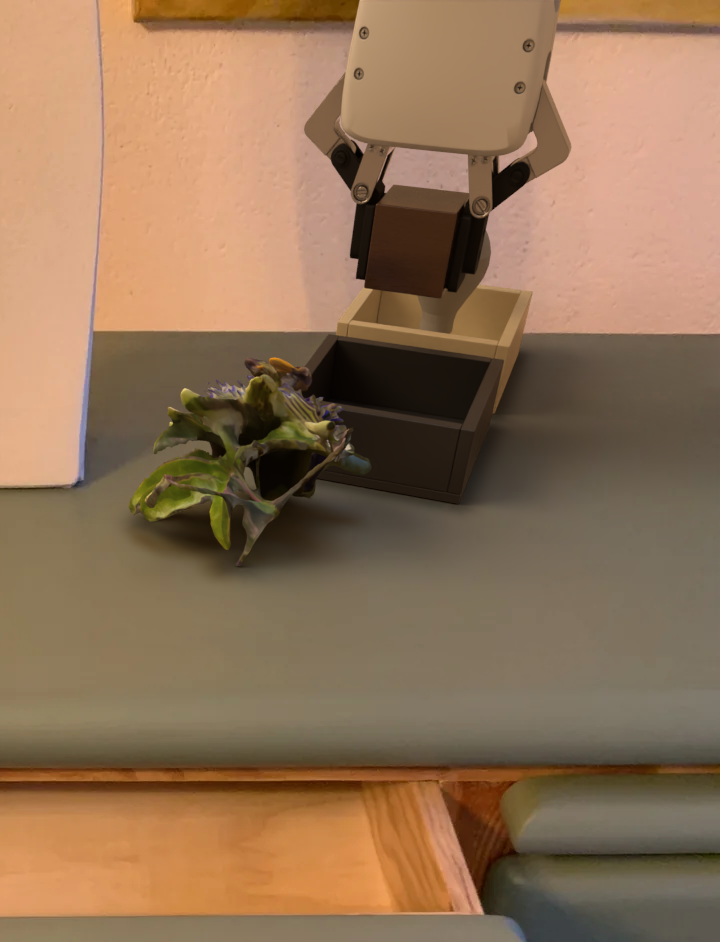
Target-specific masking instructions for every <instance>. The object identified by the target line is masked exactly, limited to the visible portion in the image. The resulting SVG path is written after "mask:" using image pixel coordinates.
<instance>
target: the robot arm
mask: <svg viewBox="0 0 720 942" xmlns="http://www.w3.org/2000/svg"><path fill="white" fill-rule="evenodd" d="M561 1H562V0H359V2H358V5H357V6H358V7H357V11H356V15H355V21H354V24H353V25H354V26H353V31H352V36H351V42H350V46H349V50H348V51H349V52H348V57H347V63H346V69H345V72H344V73H343V74H342V76H341V77H340V78H339V80H338V81H337V82H336V83H335V84H334V86H333V87H332V89H330V91H329V92H328V94H327V95H326V96H325V98H324V99H322V101H321V102H320V104H319V105H318V106H317V108H316V109H315V111H313V113H312V114H311V115H310V117H309V118H308V119H307V121H306V122H305V124H304V129H303V130H304V134H305V136H306V137H307V139H309V141H310V142H311V143H312V144H313V145H314V146H315V147H316V148H317V149H318V150H319V151H320V152H321V153H322V154H323V155H324V156H326V157H327V158H328V159H329V160H330V162H331V165H332V167H333V168H334V169H335V171H336V172H337V173H338V175H339V177H340V178H341V180H342V181H343V183H344V184H345V185H346V187H347V188H348V190H349V191H350V198H351V200H352V201H353V202H354V203H355V204H356V205H355V213H354V220H353V225H352V226H353V227H352V234H351V241H350V248H349V258H350V259H354V260H357V266H356V273H355V279H356V280H360V281H365V276H366V269H367V263H368V256H369V249H370V242H371V235H372V228H373V221H374V214H375V208H376V204H377V203H378V202H379V201H380V199H381V198H382V197H383V196H384V195H385V194H386V193H387V192H385V191H386V185H385V183H384V180H385V177H386V175H387V172H388V170H389V167H390V164H391V161H392V159H393V157H394V154H395V151H396V148H399V149H400V148H401V149H409V150H416V151H417V150H419V151H429V152H438V153H448V154H457V155H467V171H468V172H467V173H468V175H467V176H468V193H469V199H468V200H467V202H466V204H465V209H464V211H463V213H462V214H461V216H460V217H459V219H458V223H457V228H456V233H455V238H454V244H453V249H452V254H451V259H450V265H449V270H448V275H447V280H446V286H445V289H448V290H447V291H448V292H455V293H457V291H458V289H459V288H460V286H461V284H462V282H463V280H464V278H465V275H466V274H474V275H475V273H476V271H477V268H478V265H479V261H480V256H481V251H482V246H483V241H484V236H485V232H486V231H487V227H488V222H489V217H490V213H491V212H492V211H493V210H495V209H496V208H498V206H500V205H502V204H503V203H504V202H505V201H506V200H508V199H509V198H510V197H511V196H512V195H514V194H515V193H516V192H518V191H519V190H521V189H522V188H523V187H524V186H525V185H526V184H529V183H530V182H532V181H533V180H535V179H537V178H539V177H541V176H542V175H545V174H546V173H548V172H549V171H551V170H553V169H555V168H556V167H558V166H559V165H561V164H563V163H564V162H566V161H567V159H568V157H569V156H570V154H571V151H572V143H571V140H570V137H569V135H568V132H567V130H566V128H565V125H564V123H563V120H562V118H561V115H560V113H559V111H558V108H557V106H556V103H555V101H554V98H553V95H552V93H551V90H550V88H549V86H548V83H547V81H548V77H549V71H550V67H551V62H552V55H553V50H554V45H555V38H556V33H557V27H558V21H559V20H558V19H559V15H560V8H561V3H562V2H561ZM340 122H341V124H340ZM530 133H533V134H534V136H535V138H536V143H537V144H536V147H535V148H533V149H532V150H530V151H528V152H527V153H526V154H524V155H522V156H521V157H517V158H516V159H514V160H513V161H511V163H509V164H508V165H506V167H504V168H502V170H500V157H501V156H505V155H509V154H513V153H514V152H516V151H519V149H521V148H522V147H523V145H524V144H525V142H526V140H527V138H528V135H529V134H530ZM348 136H349V137H350V138H351V139H350V138H349V137H348ZM356 141H358V142H361V143H364V144H367V145H366V146H365V149H364V152H363V151H362V149H361V148H360V146H359V145H358V143H357V142H356Z"/></svg>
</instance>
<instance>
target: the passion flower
mask: <svg viewBox="0 0 720 942" xmlns="http://www.w3.org/2000/svg"><path fill="white" fill-rule="evenodd" d="M243 364H244V366H245V368H246V369H247V370H248V371H249V373H250V374H251V375H246V378H247V380H248V382H249V383H248V386H247V387H246V386H245V385H244V383H242V381H240V380H239V379H238V380H237V381H236V382H237V383H238V385H239V386H240V387H238V386H237V385H235V384H233V385H232V386H231V385H230V384H229V382H227V381H224V384H223V383H221V382H220V381H219V379H215V382H216V384H217V385H218V386H219V388H220V389H219V388H218V387H216V386H214V387H213V386H210V387H207V388H206V389H207V390H203V392H204V393H206V394H207V395H208V396H207V395H206V396H205V395H202V394H198V393H196V392H194V391H192V390H190V389H189V388H185V387H184V388H183V389H182V390H181V392H180V396H179V397H180V401H181V404H182V406H183V407H184V408H185V410H186V411H188V412H183V411H180V410H178V409H175V408H173V407H172V406H167V413H166V414H167V416H168V417H169V418H170V419H171V421H170V422H169V424H168V428H167V429H165V430H163V431H162V432H161V434H159V436H158V438H157V439H156V440H155V442H154V444H153V449H152V454H153V455H157V454H158V452H162V451H164V450H166V448H171V449H172V448H173V447H175V446H176V447H177V446H179V445H187V443H188V442H196V441H197V442H199V441H200V442H207V443H209V445H210V448H211V454H210V452H209V451H206V450H204V449H200V448H197V447H195V448H194V450H191V451H189V452H186V453H184V454H183V455H182V456H178V455H177V456H176V457H173V458H171V459H169V460H167V461H164V462H163V463H162V464H160V465H159V466H158V467H157V468H156V469H155V470H154V471H153V472H151V473H150V475H149V476H148V477H143V480H142V482H141V483H140V484H139V486H137V488H136V490H135V491H134V493H133V495H132V497H131V498H130V499H129V503H128V511H129V512H130V513H131V514H132V515H133V516H135V515H137V514H141V515H142V516H143V517H144V519H145V520H146V521H147V522H150V523H153V522H157V521H162V520H165V519H168V518H170V517H171V516H174V515H175V514H179V513H181V512H183V511H186V510H189V509H191V508H192V509H193V508H195V507H196V506H198V505H205V504H206V503H207V502H210V501H211V505H210V509H209V518H210V526H211V529H212V533H213V535H214V537H215V539H216V540H217V542H218V543H219V544H220V545H221V546H222V548H223V549H224V550H226V551H229V550H230V549H231V546H232V542H231V517H232V512H233V510H234V509H235V507H236V506H237V505H241V506H242V508H243V517H242V521H241V523H242V527H243V528H244V530H245V533H246V541H245V544H244V548H243V551H242V554H241V555H240V556H239V558H238V560H237V561H236V563H235V566H239V567H240V566H242V564H243V562H244V560H245V559H246V558H247V556H248V555H249V553H250V552H251V550H252V549H253V546H254V544H255V543H256V541H257V539H258V538H259V537H260V535H261V534H262V532H263V531H264V529H266V526H267V525H268V524H269V523H270V522H272V521H273V520H275V519H276V518H278V517H279V516H280V514H281V511H282V510H283V507H284V506H285V504H286V503H287V501H288V500H289V499H290V498H291V497H294V498H295V497H297V498H306V499H311V498H312V497H313V496H314V495H315V492H316V485H317V482H316V481H317V479H318V478H317V477H318V476H319V475H320V474H321V472H322V471H324V470H325V469H326V468H328V467H329V466H333V465H334V466H338V467H340V468H342V469H344V470H346V471H348V472H351V473H353V474H357V475H365V474H367V473H368V472H369V471H370V470H371V463H370V461H369V459H368V458H365V457H362V456H361V455H359V454H357V453H355V452H354V450H355V449H354V447H353V445H351V444H350V443H349V441H350V439H351V432H352V431H353V429H352V428H350V429H348V430H347V428H346V426H345V425H335V424H336V423H343V420H342V419H341V418H339V417H338V415H337V413H340V412H341V411H342V409H343V408H342V407H341V406H338V407H337V405H336V404H334V403H332V404H329V405H327V406H322V407H321V402H322V401H323V397H319V398H316V397H315V395H314V394H313V395H312V396H311V397H309V398H307V399H306V400H305V399H304V398H303V396H302V392H301V391H306V390H308V387H309V386H310V384H311V383H312V376H311V372H310V371H309V369H308V368H305V367H304V366H293V365H292V364H291V363H289V362H288V361H286V360H285V359H281V358H280V357H270V358H269V360H268V362H267V361H266V360H260V359H256V358H252V357H247V358H246V359H245V360H244V362H243ZM207 384H208V385H210V382H207ZM246 468H248V469H250V472H251V473H252V477H253V481H254V486H255V489H252V488H251V487H250V486H249V484H248V483H247V481H246V477H245V469H246ZM235 492H239V493H242V494H245V495H246V496H248V497H249V498H250V499H247V500H246V499H243V498H241V497H239V496H238V495H237V494H236V493H235Z"/></svg>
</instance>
